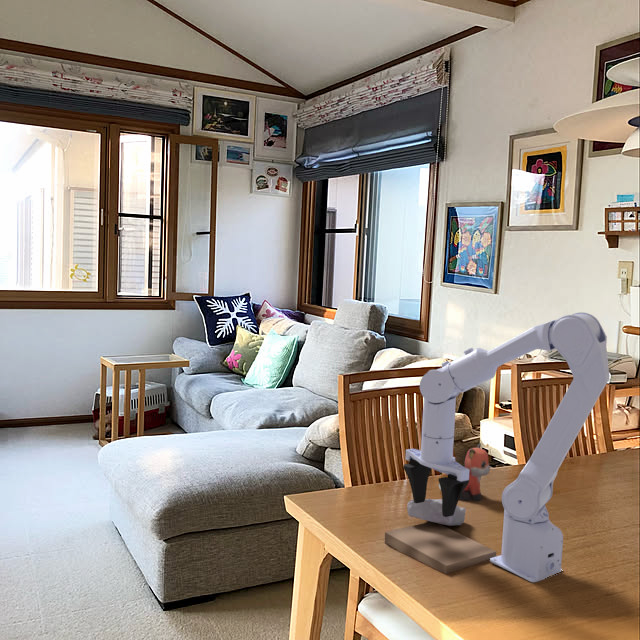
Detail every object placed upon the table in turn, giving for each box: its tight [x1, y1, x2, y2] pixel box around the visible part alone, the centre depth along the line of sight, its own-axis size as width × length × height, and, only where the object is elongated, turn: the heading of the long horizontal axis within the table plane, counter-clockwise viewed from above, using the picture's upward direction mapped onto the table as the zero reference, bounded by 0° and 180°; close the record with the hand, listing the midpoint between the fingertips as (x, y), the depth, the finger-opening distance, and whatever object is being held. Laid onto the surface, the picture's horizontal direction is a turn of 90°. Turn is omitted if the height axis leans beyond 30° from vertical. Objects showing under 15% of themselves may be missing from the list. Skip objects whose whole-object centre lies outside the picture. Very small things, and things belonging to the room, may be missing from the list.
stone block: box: [406, 498, 467, 527], centre depth 139 cm, size 12×5×10 cm
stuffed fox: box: [437, 442, 491, 502], centre depth 158 cm, size 8×11×12 cm
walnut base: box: [384, 521, 497, 575], centre depth 128 cm, size 16×12×2 cm
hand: (433, 508), depth 129 cm, fingers open, 7 cm apart
